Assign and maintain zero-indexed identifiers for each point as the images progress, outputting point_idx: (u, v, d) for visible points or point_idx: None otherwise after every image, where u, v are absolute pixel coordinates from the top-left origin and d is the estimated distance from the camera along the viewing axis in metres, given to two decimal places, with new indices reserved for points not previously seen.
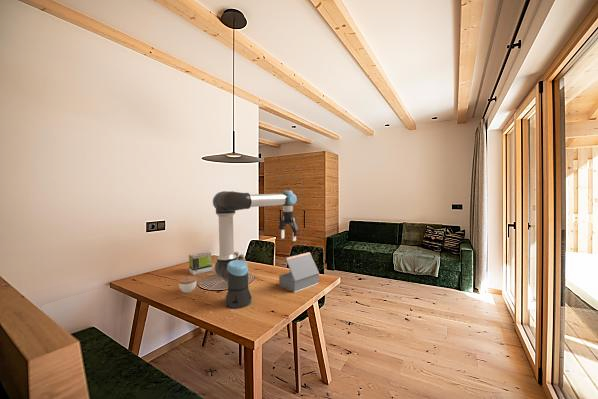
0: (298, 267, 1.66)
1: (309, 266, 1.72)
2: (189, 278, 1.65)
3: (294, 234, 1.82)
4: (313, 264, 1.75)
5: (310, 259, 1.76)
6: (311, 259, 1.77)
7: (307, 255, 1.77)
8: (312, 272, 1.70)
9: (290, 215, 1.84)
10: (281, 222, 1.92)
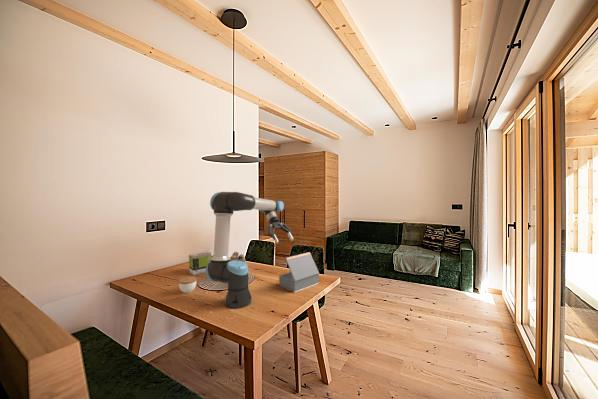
0: (298, 267, 1.66)
1: (309, 266, 1.72)
2: (189, 278, 1.65)
3: (290, 234, 1.90)
4: (313, 264, 1.75)
5: (310, 259, 1.76)
6: (311, 259, 1.77)
7: (307, 255, 1.77)
8: (312, 272, 1.70)
9: None
10: None
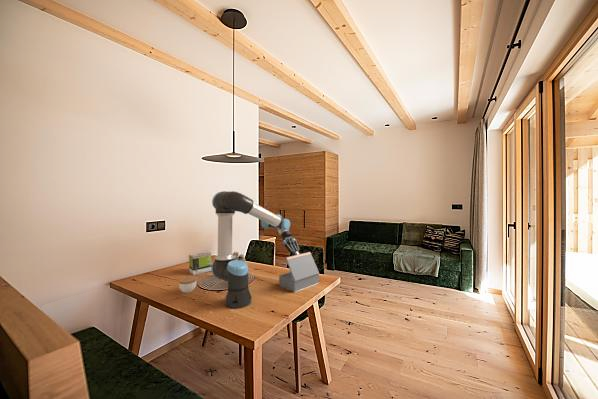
0: (298, 267, 1.66)
1: (309, 266, 1.72)
2: (189, 278, 1.65)
3: (298, 253, 1.76)
4: (313, 264, 1.75)
5: (310, 259, 1.76)
6: (312, 259, 1.76)
7: (307, 255, 1.76)
8: (312, 272, 1.70)
9: None
10: (288, 244, 1.76)
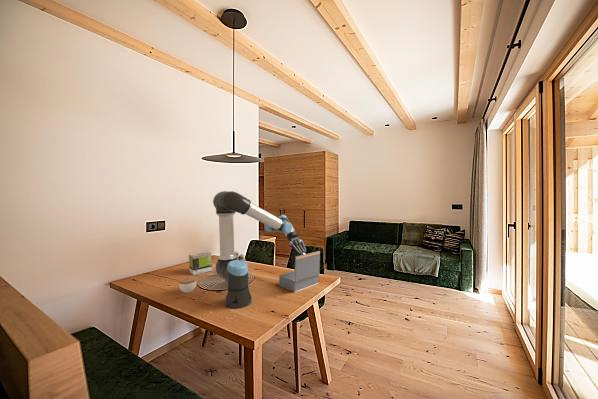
0: (303, 267, 1.63)
1: (313, 266, 1.69)
2: (189, 278, 1.65)
3: None
4: (317, 265, 1.71)
5: (317, 259, 1.71)
6: (318, 259, 1.72)
7: (316, 255, 1.70)
8: (313, 273, 1.70)
9: None
10: (294, 245, 1.71)
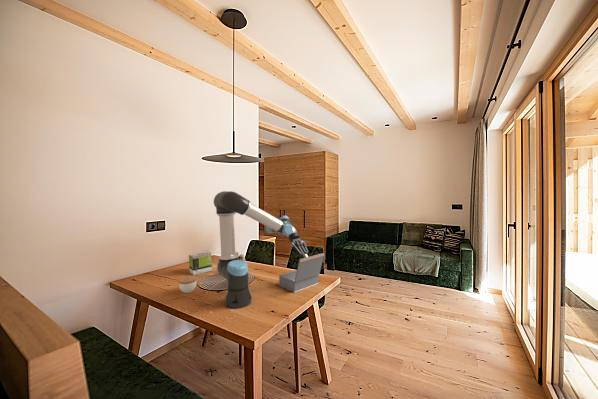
0: (305, 269, 1.61)
1: (315, 268, 1.68)
2: (189, 278, 1.65)
3: (307, 256, 1.68)
4: (319, 266, 1.70)
5: (320, 261, 1.69)
6: (321, 261, 1.70)
7: (320, 257, 1.67)
8: (314, 273, 1.69)
9: None
10: (296, 246, 1.68)
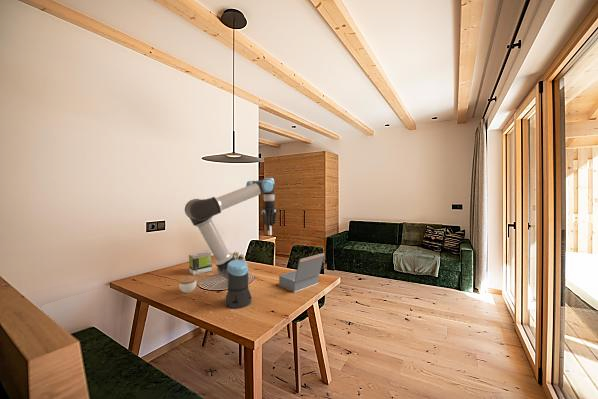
0: (305, 269, 1.61)
1: (315, 268, 1.68)
2: (189, 278, 1.65)
3: None
4: (319, 266, 1.70)
5: (320, 261, 1.69)
6: (321, 261, 1.70)
7: (320, 257, 1.67)
8: (314, 273, 1.69)
9: None
10: (265, 216, 1.69)
